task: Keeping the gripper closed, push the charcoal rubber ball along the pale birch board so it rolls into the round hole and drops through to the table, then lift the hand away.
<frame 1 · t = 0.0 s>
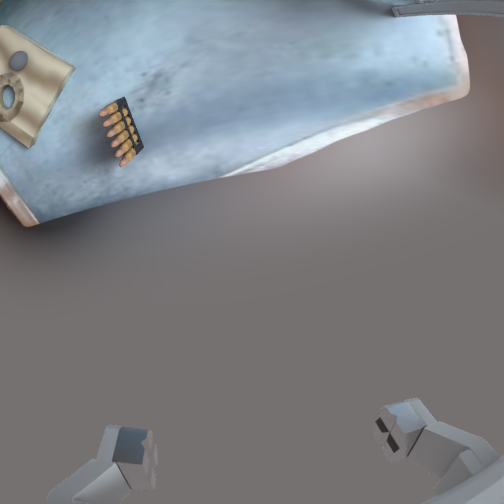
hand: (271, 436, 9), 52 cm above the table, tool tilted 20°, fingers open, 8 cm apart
ammunition clip: (130, 123, 49), on the table
ball: (18, 60, 33), point 4 cm above the table, touching board
board: (17, 82, 39), on the table
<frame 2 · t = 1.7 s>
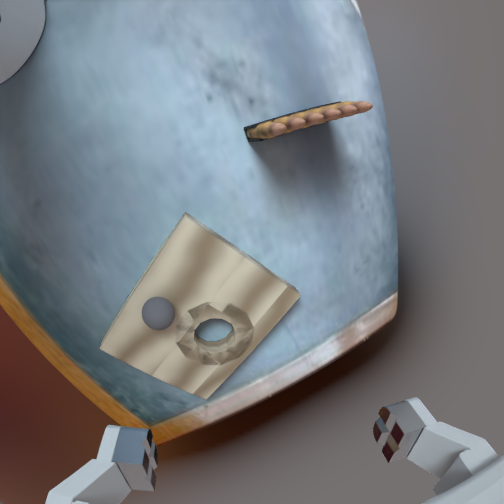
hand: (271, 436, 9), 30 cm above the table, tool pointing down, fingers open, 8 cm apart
ammunition clip: (286, 122, 35), on the table
ball: (158, 313, 35), point 4 cm above the table, touching board
board: (195, 315, 41), on the table
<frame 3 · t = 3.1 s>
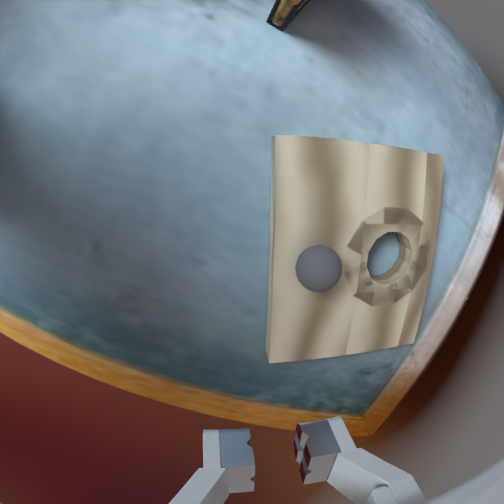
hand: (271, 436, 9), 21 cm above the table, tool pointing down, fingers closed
ball: (318, 268, 26), point 4 cm above the table, touching board
board: (354, 252, 31), on the table
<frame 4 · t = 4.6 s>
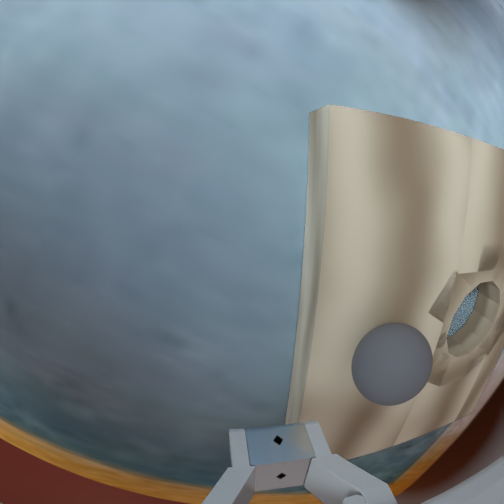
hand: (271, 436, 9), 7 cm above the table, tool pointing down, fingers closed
ball: (392, 364, 13), point 4 cm above the table, touching board
board: (424, 310, 18), on the table
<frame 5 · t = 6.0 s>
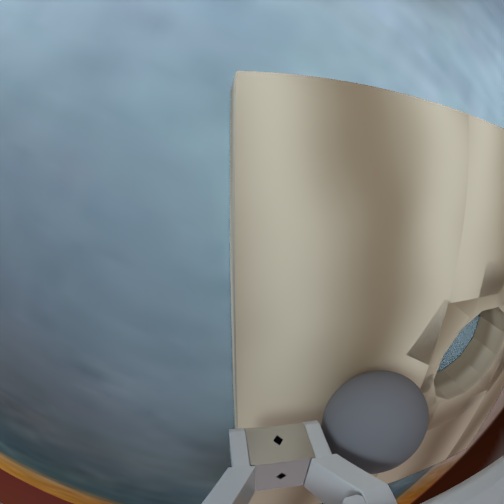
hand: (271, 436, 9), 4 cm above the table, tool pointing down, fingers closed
ball: (375, 422, 9), point 4 cm above the table, tilted 33°, touching board
board: (408, 343, 14), on the table
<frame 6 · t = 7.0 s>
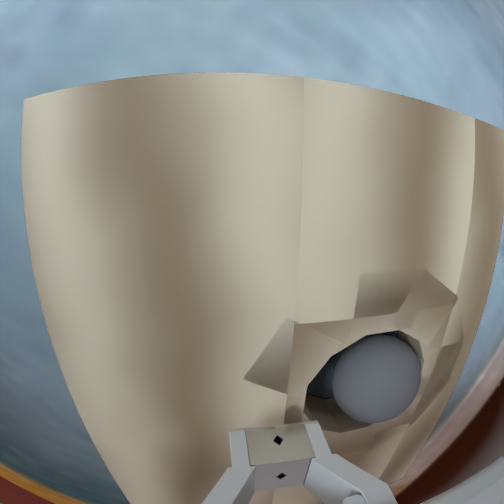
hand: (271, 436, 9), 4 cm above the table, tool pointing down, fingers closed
ball: (376, 378, 12), point 2 cm above the table, tilted 72°
board: (285, 363, 13), on the table
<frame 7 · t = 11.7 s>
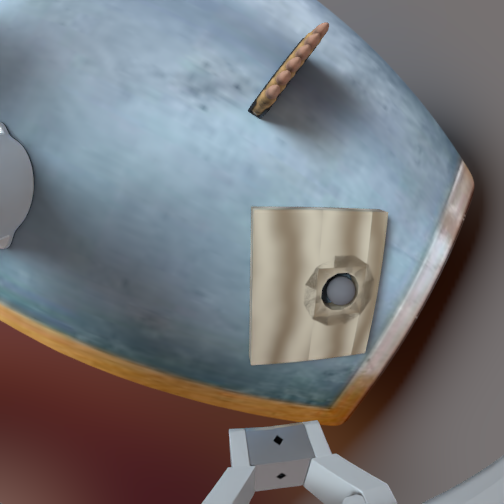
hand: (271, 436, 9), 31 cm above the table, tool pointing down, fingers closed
ammunition clip: (277, 83, 34), on the table
ball: (341, 290, 41), point 2 cm above the table, tilted 83°
board: (314, 286, 42), on the table
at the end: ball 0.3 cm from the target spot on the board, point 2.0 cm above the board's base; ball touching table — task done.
